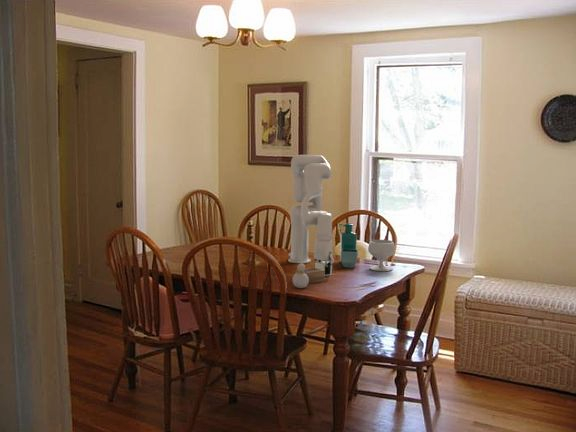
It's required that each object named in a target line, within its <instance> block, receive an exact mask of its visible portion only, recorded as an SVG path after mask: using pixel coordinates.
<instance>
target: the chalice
mask: <svg viewBox="0 0 576 432" xmlns="http://www.w3.org/2000/svg"><path fill="white" fill-rule="evenodd" d="M395 246H396V245H395V243H394V241H392V240H388V239H372V240H370V242H369V244H368V247H367V248H368V249H367V251H368V253H369V255H371V256H372V257H374V258H375V259H377V260H378V262H379V264H378V265H374V266H373V265H372V266H370V267H369V270H371V271H376V272H390V271H393V269H394V268H392V267H390V266H385V265H384V261H385V260H386V259H388V258H390V257H392V256H393V255H394V254H395V252H396V247H395Z"/></svg>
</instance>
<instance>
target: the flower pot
mask: <svg viewBox="0 0 576 432" xmlns="http://www.w3.org/2000/svg"><path fill="white" fill-rule="evenodd" d="M358 256H359V249H357V250H356V249H342V250H341V261H342V263H341V264H342V266H343V268H349V269H350V268H354V267H355V266H356V263H357V260H358ZM341 261H340V262H341Z"/></svg>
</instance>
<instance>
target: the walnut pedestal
mask: <svg viewBox="0 0 576 432" xmlns="http://www.w3.org/2000/svg"><path fill="white" fill-rule="evenodd" d="M294 270H295V273H294V275H295V274H296V273H297V271H298V268H295V269H294ZM304 273H305V274H306V275H307V276H308V278H309V282H308V285H309V284H316V283H323V282H328V278H326V277H325V276H324V270H320V269H317V268H315V267H313V266H311V267H305V270H304ZM291 278H292V279H293V276H292V277H291ZM292 279H291V280H292Z"/></svg>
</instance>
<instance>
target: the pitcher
mask: <svg viewBox="0 0 576 432" xmlns="http://www.w3.org/2000/svg"><path fill="white" fill-rule="evenodd" d="M341 226H343V227H345V230H343V231H342V230H341ZM353 226H355V224H354V223H349V222H348V223H344V224H343V223H342V222H338V229H339V231H340V232H339V233H340V248H339V249H340V253H339V254H340V256H339V258H340V259H339V261H340V264H342V261H341V250H342V249H356V250H358V248H357V247H358V246H357V245H358V244H357V243H358V241H357V240H358V236H357V233H356V232H355V231H354V230H353Z"/></svg>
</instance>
